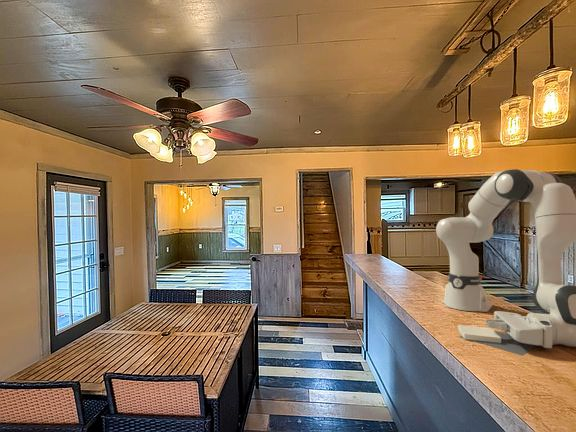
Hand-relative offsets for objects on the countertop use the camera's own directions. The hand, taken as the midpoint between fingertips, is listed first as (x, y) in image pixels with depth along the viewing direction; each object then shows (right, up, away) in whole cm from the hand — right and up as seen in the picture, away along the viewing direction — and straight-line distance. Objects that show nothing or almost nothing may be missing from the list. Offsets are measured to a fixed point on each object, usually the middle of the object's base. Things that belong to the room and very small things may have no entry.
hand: (486, 323), depth 103 cm
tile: (+2, -4, -1) cm, 5 cm away
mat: (+3, -5, -2) cm, 6 cm away
